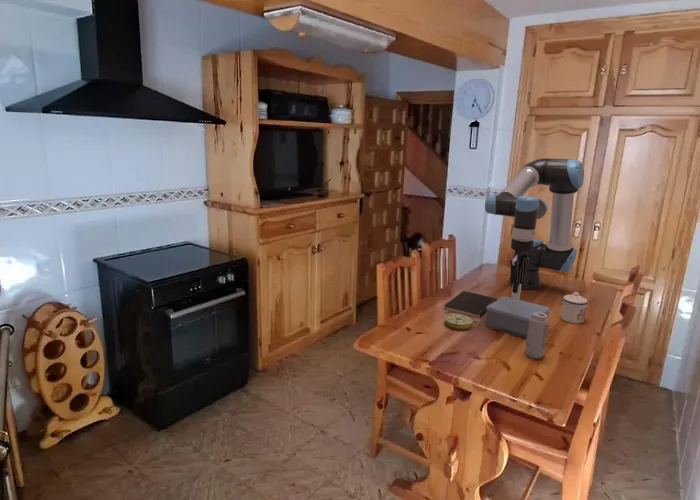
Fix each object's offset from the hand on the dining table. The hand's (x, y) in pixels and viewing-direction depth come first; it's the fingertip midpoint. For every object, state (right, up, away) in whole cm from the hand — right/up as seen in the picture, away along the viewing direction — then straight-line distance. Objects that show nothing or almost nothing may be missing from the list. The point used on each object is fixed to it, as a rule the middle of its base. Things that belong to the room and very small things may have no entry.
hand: (515, 299), depth 171 cm
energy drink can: (+1, -17, -16) cm, 23 cm away
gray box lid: (+3, -5, +5) cm, 8 cm away
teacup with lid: (+30, -10, +16) cm, 35 cm away
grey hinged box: (+3, -11, +7) cm, 14 cm away
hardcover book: (-9, -6, +28) cm, 30 cm away
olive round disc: (-20, -11, +7) cm, 24 cm away
